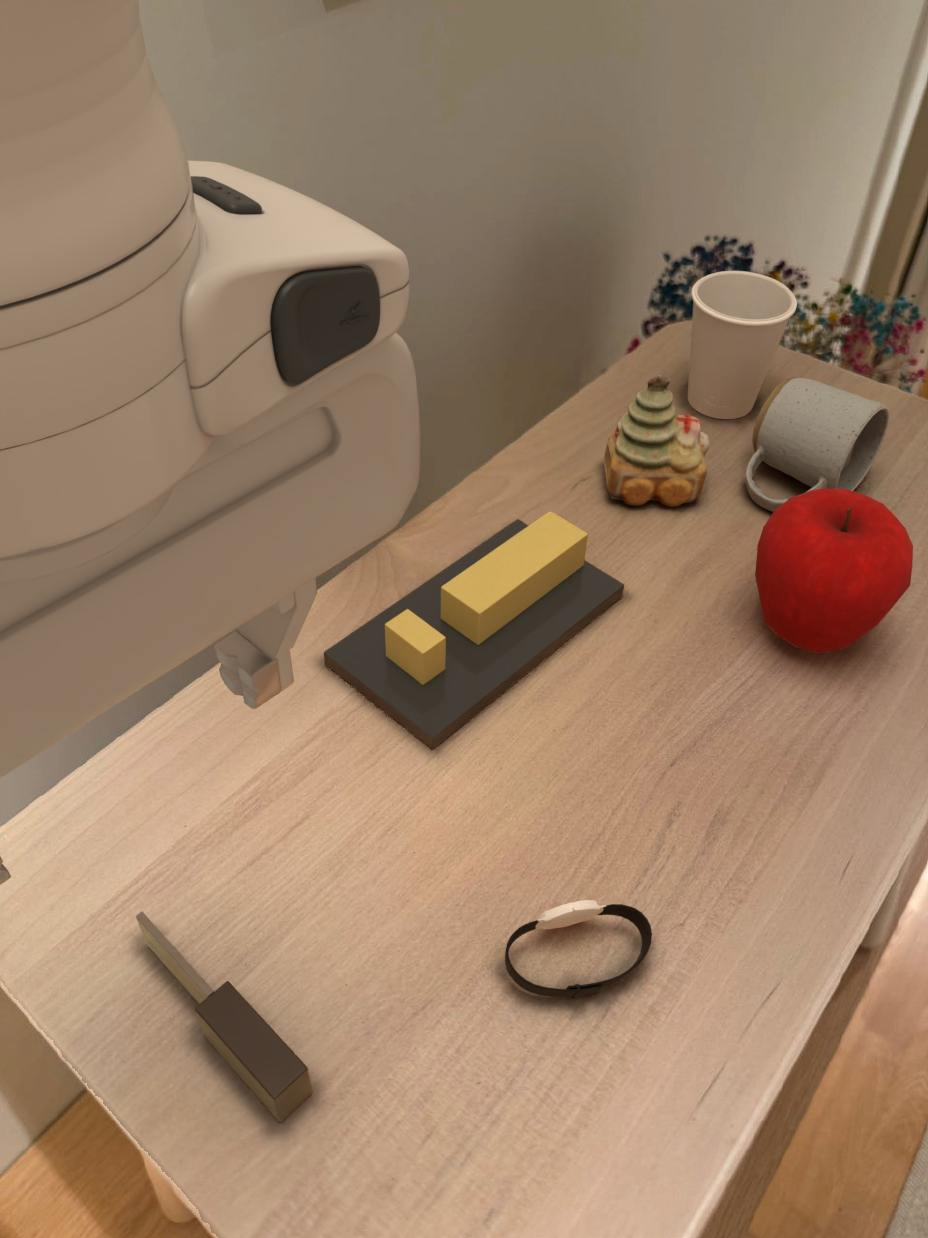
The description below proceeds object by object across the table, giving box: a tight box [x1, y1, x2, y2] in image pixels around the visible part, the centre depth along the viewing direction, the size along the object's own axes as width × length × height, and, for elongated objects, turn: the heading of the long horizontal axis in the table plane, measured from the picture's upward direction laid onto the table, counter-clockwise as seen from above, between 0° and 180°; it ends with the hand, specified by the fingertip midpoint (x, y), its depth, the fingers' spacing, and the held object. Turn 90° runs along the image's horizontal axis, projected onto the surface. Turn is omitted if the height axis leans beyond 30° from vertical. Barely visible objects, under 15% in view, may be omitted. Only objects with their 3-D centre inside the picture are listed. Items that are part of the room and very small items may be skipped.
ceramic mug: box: [745, 376, 890, 513], centre depth 82 cm, size 11×8×8 cm
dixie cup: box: [687, 270, 798, 420], centre depth 89 cm, size 8×8×10 cm
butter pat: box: [385, 609, 446, 685], centre depth 67 cm, size 2×4×3 cm, turn 45°
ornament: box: [603, 374, 711, 508], centre depth 80 cm, size 8×6×10 cm
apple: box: [754, 489, 914, 654], centre depth 69 cm, size 10×10×11 cm
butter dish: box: [323, 518, 625, 750], centre depth 72 cm, size 19×10×1 cm, turn 136°
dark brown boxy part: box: [135, 911, 313, 1123], centre depth 52 cm, size 2×12×3 cm, turn 46°
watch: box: [504, 899, 653, 999], centre depth 54 cm, size 8×5×4 cm, turn 104°
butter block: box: [441, 510, 589, 645], centre depth 72 cm, size 11×4×3 cm, turn 136°
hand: (127, 775), depth 30 cm, fingers open, 8 cm apart
